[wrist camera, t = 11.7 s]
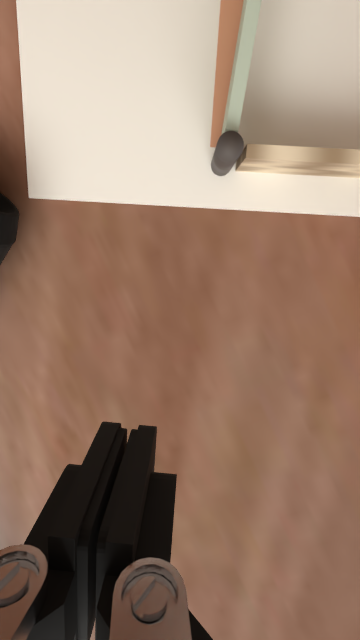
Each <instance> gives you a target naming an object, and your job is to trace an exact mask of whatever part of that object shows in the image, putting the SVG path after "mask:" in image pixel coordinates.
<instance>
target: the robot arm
mask: <svg viewBox="0 0 360 640" xmlns="http://www.w3.org/2000/svg"><path fill="white" fill-rule="evenodd" d="M156 434H157V427H155V426H145V425H139V427H138V430H135V429H132V430H131V433H130V436H129V439H128V442H127V429H124V428H121V423H112V422H102V424H101V426H100V428H99V430H98V432H97V434H96V436H95V438H94V440H93V442H92V444H91V447H90V449H89V451H88V453H87V455H86V457H85V459H84V461H83V463H82V465H74V464H69V465H67V466H66V468H65V469H64V471H63V473H62V475H61V477H60V478H59V480H58V482H57V484H56V486H55V488H54V489H53V491H52V493H51V495H50V497H49V499H48V500H47V502H46V504H45V506H44V508H43V510H42V512H41V513H40V515H39V517H38V519H37V521H36V523H35V524H34V526H33V528H32V530H31V532H30V534H29V535H28V537H27V539H26V541H25V543H24V545H23V544H20V545H14V546H9V547H7V548H4V549H2V550H0V640H90V637H91V634H92V630H93V626H94V622H95V618H96V625H95V640H213V639H212V638H211V637H210V635H209V634H208V633H207V632H206V630H205V629H204V628H203V627H202V625H201V624H200V623H199V622H198V621H197V619H196V618H195V617H194V616H193V614H192V613H191V612H190V611H189V609H188V603H187V594H186V588H185V584H184V581H183V578H182V577H181V575H180V573H179V572H178V570H177V569H176V568H175V567H174V566H172V565H171V564H170V557H171V544H172V531H173V517H174V504H175V491H176V478H177V474H167V473H157V472H154V464H155V449H156Z"/></svg>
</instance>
